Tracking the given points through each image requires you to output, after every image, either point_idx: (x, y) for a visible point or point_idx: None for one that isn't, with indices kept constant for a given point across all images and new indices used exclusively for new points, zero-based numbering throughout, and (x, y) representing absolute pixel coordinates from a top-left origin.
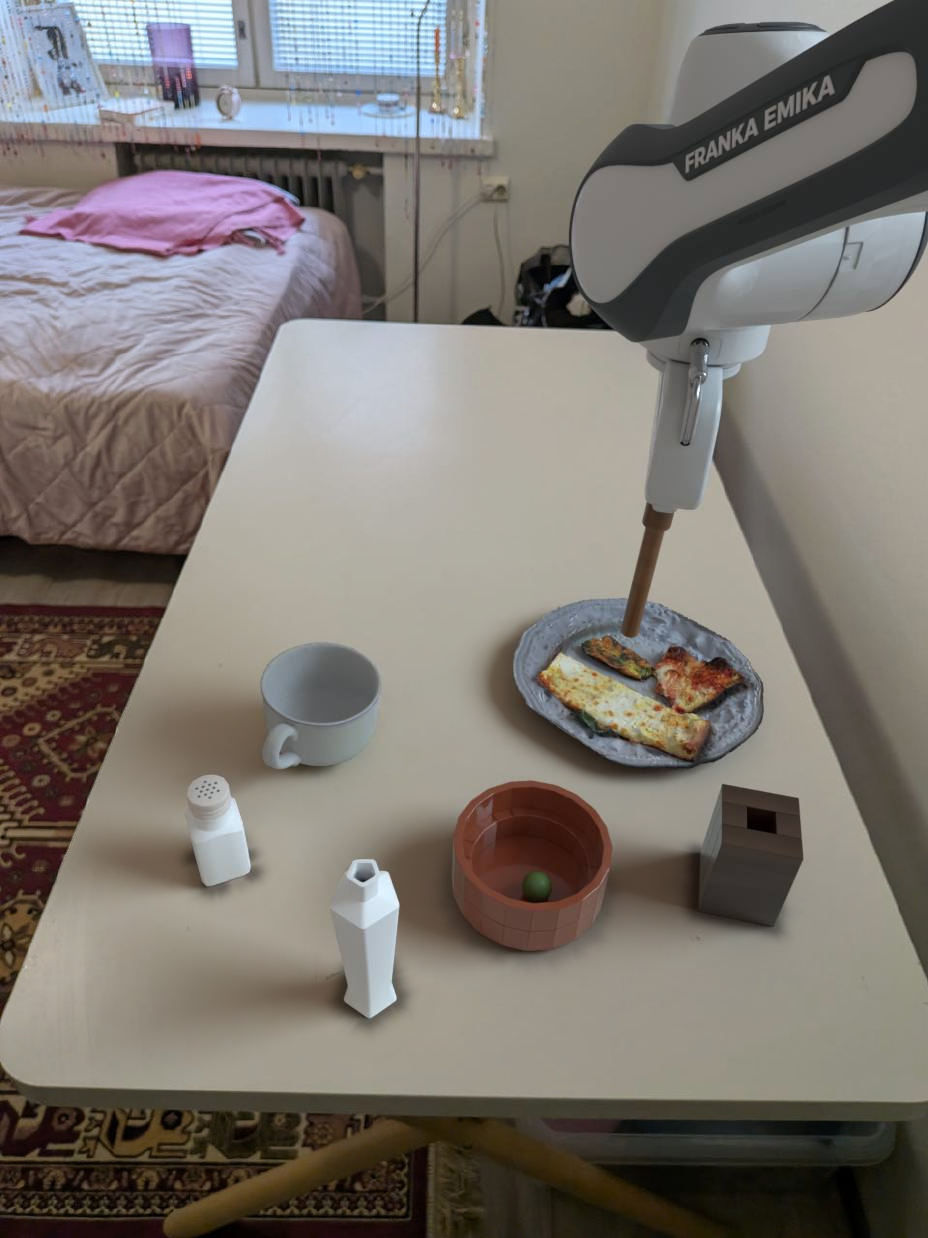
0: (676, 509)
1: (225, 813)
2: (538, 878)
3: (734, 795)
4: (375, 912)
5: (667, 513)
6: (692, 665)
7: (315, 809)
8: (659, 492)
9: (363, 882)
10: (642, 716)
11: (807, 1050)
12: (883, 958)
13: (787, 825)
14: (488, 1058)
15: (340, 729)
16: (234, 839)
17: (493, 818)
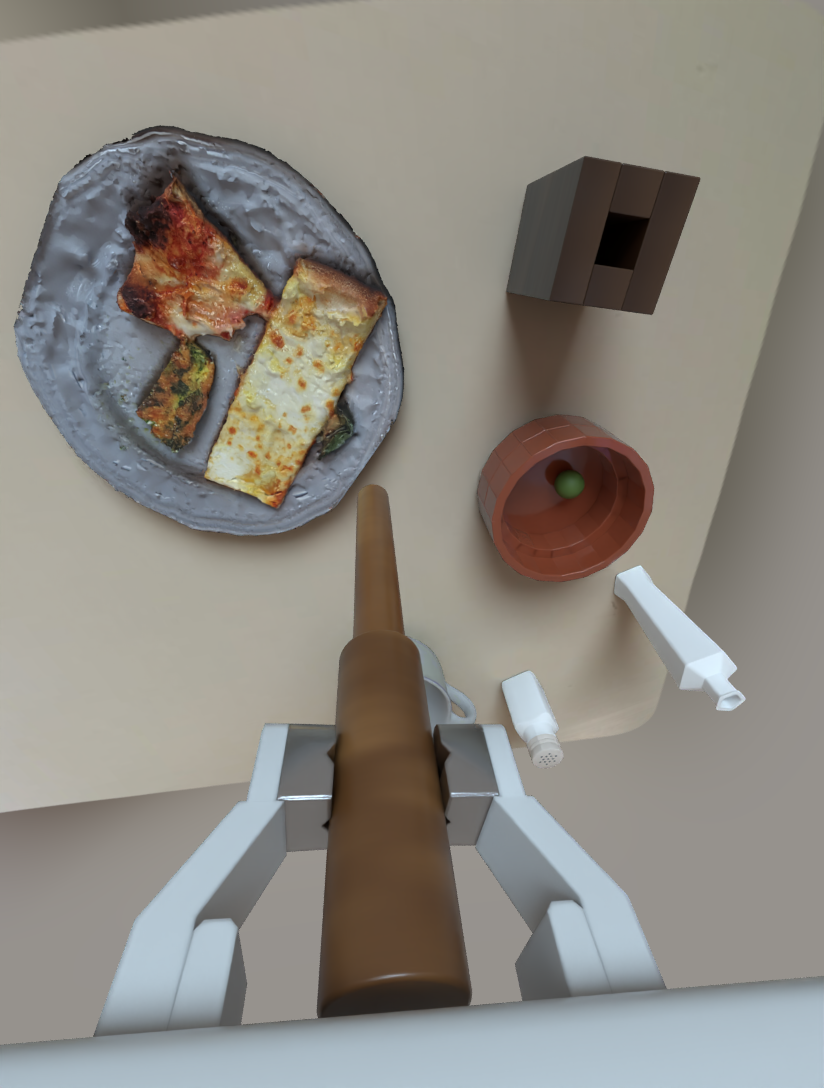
0: (505, 731)
1: (551, 734)
2: (575, 490)
3: (572, 282)
4: (729, 667)
5: (424, 693)
6: (153, 271)
7: (467, 647)
8: None
9: (741, 699)
10: (301, 365)
11: (764, 185)
12: (680, 16)
13: (638, 194)
14: (696, 499)
15: (442, 685)
16: (548, 709)
17: (507, 536)
